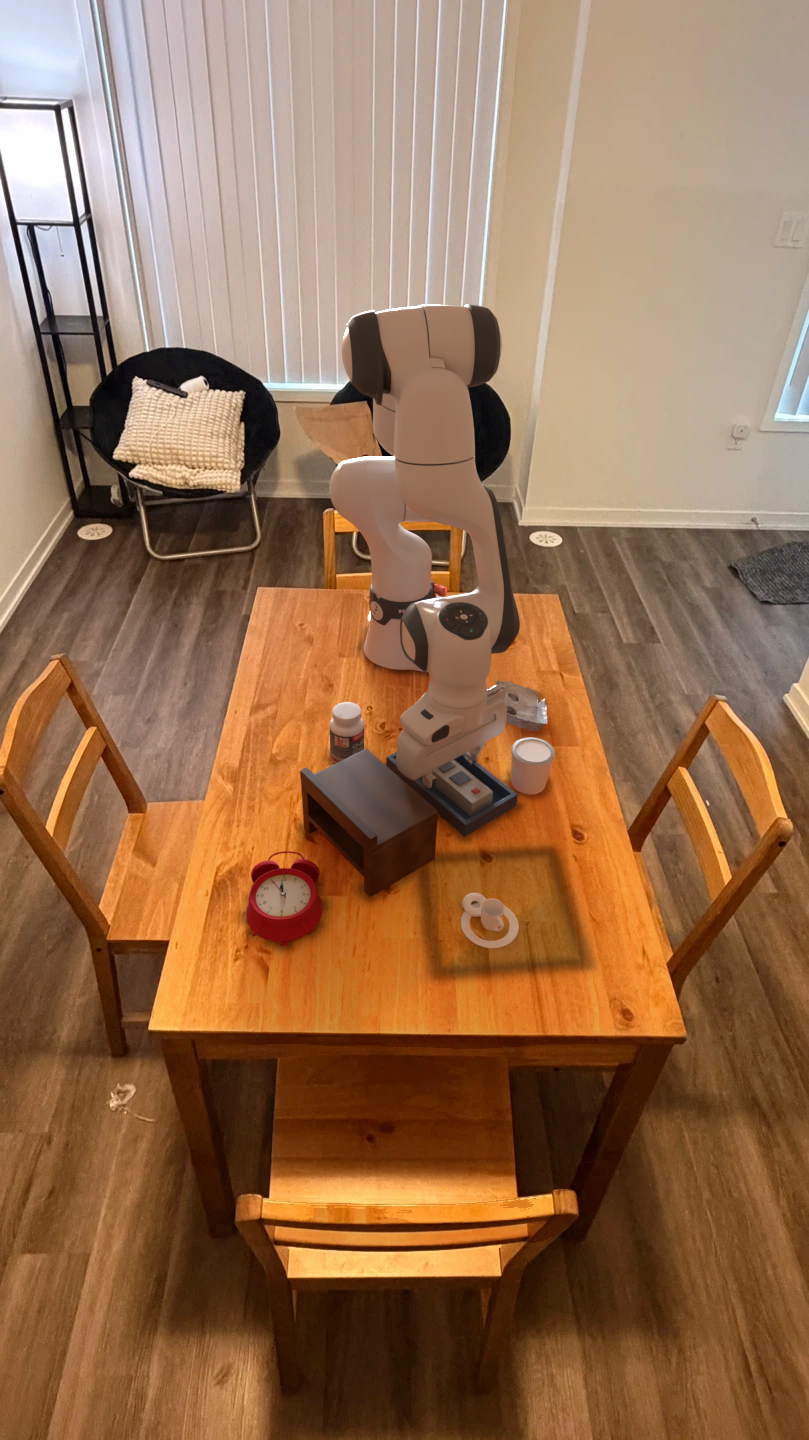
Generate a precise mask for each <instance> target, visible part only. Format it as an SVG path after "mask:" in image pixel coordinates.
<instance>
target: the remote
mask: <svg viewBox="0 0 809 1440" xmlns="http://www.w3.org/2000/svg"><path fill="white" fill-rule="evenodd" d="M432 775H434V776H435V777H437V781H436V785H434V786H435V787H436V788H438V789H439V790H440V791H441V792H442V793H443V794H445V795H446V796H447V797H448V798H449V799H450V800H452V801H453V802H454V803H455V804H456V805H457V806H459V807H460V808H461V809H462V810H463V811H464V812H466V813H467V814H468V815H469V816H470V817H472V816H473V815H475V814H477V813H479V812H480V811H482V810H484V809H486V808H487V807H489V806H491V804H492V796H493V791H492V790H491V789H489V788H488V787H487V786H486V785H484V784H483V783H482V782H481V781H479V780H478V779H477V778H476V777H475V776H473V775H472V774H471V773H470V772H468V771H467V770H466V769H465V768H463V767H462V766H461V765H460V764H458V763H457V762H456V761H455V760H454V759H453V760H452V761H450V762H448V763H446V764H444V765H442V766H440V767H438V768H437V769H435V770H433V771H432Z"/></svg>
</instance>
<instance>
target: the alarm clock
mask: <svg viewBox="0 0 809 1440" xmlns="http://www.w3.org/2000/svg"><path fill="white" fill-rule="evenodd" d="M281 854H295V855H298V856H300V857H301V858H299V859H296V860H295V861H293V863H292V864H291V866H290V867H280V865H279V864H278V863H277V861H275V860H271V859H272V858H273V857H274V856H277V855H281ZM250 878H251V881H252V885H251V887H250V890H249V893H248V903H247V905H246V909H245V914H246V915H245V916H246V921H247V925H248V926H249V929H251V930H252V932H253V933H252V936H253V937H256V936H258V937H260V938H262V939H264V940H267V941H270V942H275V943H279V947H285V946H286V947H287V946H288V942H293V941H297V940H299V939H301V938H304V937H305V936H307V935H310V934H311V932H312V931H313V930H315V928H316V927H317V926H318V924H319V923H320V921H321V919H322V916H323V901H322V898H321V896H320V894H319V893H318V888H317V885H316V884H315V883H317V882H318V881H319V878H320V869H319V867H318V865H317V864H316V863H315V862H314V861H311V860H309V859H306V858H305V856H303V855H302V853H300V852H297V851H292V850H284V851H278V852H274V853H273V854H271V855H270V856H269V857H268V859H266V860H263V861H260V862H258V863H256V864H255V865H254V866H253V868H252V870H251V872H250Z"/></svg>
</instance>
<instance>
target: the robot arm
mask: <svg viewBox="0 0 809 1440" xmlns="http://www.w3.org/2000/svg"><path fill="white" fill-rule="evenodd" d="M502 351H503V340H502V333H501V329H500V325H499V321H498V319H497V317H496V315H495V314H494V313H493V311H492V310H491V309H490V308H488V307H486V306H483V305H482V306H481V305H478V304H471V303H467V304H465V305H464V306H463V305H462V306H461V305H452V304H419V305H417V306H407V307H405V306H404V307H398V308H397V307H396V308H391V309H385V310H382V311H381V310H380V311H375V310H374V309H372V310H368V311H364V312H360V313H357V314H355V315H353V316H352V317H350V319H349V320H348V322H347V323H346V326H345V332H344V335H343V338H342V342H341V360H342V365H343V369H344V371H345V373H346V375H347V377H348V378H349V383H350V384H351V385H352V386H353V387H354V388H355V389H356V390H357V391H358V392H359V393H360V394H363V395H364V396H367V397H369V398H372V430H373V435H374V437H375V438H376V440H377V442H378V443H379V444H380V446H381V447H382V448H383V449H384V450H385V451H386V452H387V453H389V454H390V455H391V456H362V457H361V456H360V457H356V458H350V459H347V460H343V461H340V463H338V465H337V466H336V467H335V469H334V470H333V472H332V474H331V477H330V480H329V489H328V490H329V497H330V501H331V503H332V506H333V508H334V509H335V511H336V512H337V513H338V514H339V516H341V517H342V518H343V519H345V520H347V521H348V522H349V523H350V524H352V525H353V527H355V528H356V530H358V531H359V533H360V534H361V535H362V537H363V538H364V541H365V542H366V544H367V547H368V550H369V555H370V563H371V564H370V565H371V566H370V567H371V583H370V585H369V603H368V604H369V614H368V615H367V620H368V628H367V633H366V637H365V641H364V643H363V647H362V648H363V649H362V650H363V654H364V656H365V657H366V658H367V659H368V660H369V661H370V662H372V664H375V665H377V666H379V667H382V668H385V669H390V670H396V671H406V670H407V671H408V670H409V671H410V670H411V671H416V672H420V673H428V675H429V683H428V687H427V690H426V691H425V692H424V693H423V694H422V695H421V696H420V698H419V699H418V700H417V701H416V702H414V704H412V705H411V706H409V708H407V709H406V710H405V711H404V712H402V713H401V715H400V716H399V725H400V726H401V727H402V728H403V729H402V730H401V731H400V732H399V734H398V737H397V741H396V742H397V743H396V751H395V752H396V766H397V768H398V770H399V771H400V772H401V773H402V774H403V775H404V776H406V777H407V778H409V779H410V780H416V779H418V778H420V777H422V776H423V777H422V782H423V784H424V785H425V786H426V787H427V788H428V789H429V788H431V787H432V786H434V785H436V781H437V777H435V776H434V775H432V771H433V770H435V769H437V768H438V767H440V766H442V765H444V764H446V763H448V762H450V761H452V760H453V759H455V758H457V757H459V756H461V755H463V754H465V761H466V762H467V763H469V765H473V764H475V763H479V759H480V755H481V753H482V752H483V750H484V748H485V747H486V745H487V742H489V741H491V740H493V739H495V738H496V737H499V736H500V735H502V734H503V733H504V731H505V729H506V728H507V723H506V720H507V710H506V703H505V695H506V690H505V688H504V687H503V686H499V685H496V684H495V685H493V686H490V688H488V685H487V679H488V676H489V674H490V670H491V662H492V655H493V654H502V653H505V652H506V651H507V650H508V649H509V648H510V647H511V646H512V644H513V643H514V642H515V640H516V639H517V637H518V634H519V633H520V628H521V622H520V615H519V611H518V607H517V603H516V599H515V596H514V592H513V586H512V581H511V573H510V567H509V560H508V552H507V545H506V539H505V533H504V526H503V521H502V515H501V511H500V506H499V503H498V500H497V498H496V495H495V493H494V492H493V490H492V489H491V488H489V487H488V486H486V485H483V483H482V481H481V479H480V476H479V474H478V471H477V465H476V443H475V442H476V440H475V425H474V416H473V409H472V401H471V398H470V397H471V396H470V392H469V388H474V387H477V386H480V385H481V386H482V385H484V384H486V383H489V382H490V381H491V380H492V378H493V377H494V376H495V375H496V374H497V371H498V369H499V365H500V360H501V357H502ZM402 523H437V524H440V525H444V526H448V527H452V528H456V529H459V530H462V531H465V532H466V533H467V534H468V535H469V537H470V540H471V544H472V551H473V556H474V563H475V568H476V575H477V582H478V584H477V587H476V588H475V589H474V590H472V591H469V592H466V593H461V594H459V593H458V594H455V595H449V596H447V595H448V591H449V590H448V588H447V587H446V586H443V585H442V584H441V583H437V584H435V581H433V580H432V569H433V554H432V549H431V547H430V546H429V544H428V543H427V542H426V541H425V540H424V539H423V538H422V537H420V536H419V535H418V534H416V533H413V532H411V531H409V530H407V529H406V528H404V527H403V525H401V524H402Z"/></svg>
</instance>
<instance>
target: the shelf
mask: <svg viewBox="0 0 809 1440" xmlns="http://www.w3.org/2000/svg"><path fill="white" fill-rule="evenodd" d="M299 775H300V788H301V790H300V791H301V804H302V817H303V819H302V820H303V829H304V830H305V831H306V832H307V834H308V835H311V834H313V833H314V832H317V831H319V832H320V834H321V835H322V836H323V837H324V838H325V839H326V840H327V841H328V842H329V843H330V844H331V845H332V846H333V847H334V848H335V849H336V850H337V851H338V852H339V853H340V854H341V855H342V857H344V858H345V859H346V861H348V863H350V864H351V866H353V867H354V869H355V870H356V871H357V872H358V873H359V874H360V875H361V876H362V877H363V892H364V893H365V894H366V895H367V896H368V897H369V898H372V897H374V896H376V895H377V894H379V893H380V892H382V891H384V890H386V889H387V888H389V887H390V886H392V885H394V884H396V883H397V882H399V881H401V880H402V879H404V878H406V877H407V876H409V875H411V874H413V873H414V872H416V871H418V870H419V869H421V868H423V867H424V866H426V865H428V864H429V863H431V862H433V861H434V860H436V847H437V834H438V823H439V822H438V821H439V814H438V811H437V810H436V809H435V808H434V807H433V806H432V805H430V804H429V803H428V802H427V801H426V800H425V799H424V798H422V797H421V796H420V795H419V794H418V793H417V792H416V791H414V790H413V789H412V788H411V787H410V786H409V785H408V784H406V783H405V782H404V781H403V780H402V779H401V778H400V777H398V776H397V775H396V774H395V773H394V772H393V771H392V770H390V769H389V768H388V767H387V766H386V764H385V763H383V761H381V760H380V759H379V758H378V757H377V756H376V755H375V754H373V752H372V751H370V750H369V749H368V748H364V750H363V751H361V752H359V753H356V754H354V755H352V756H350V757H348V758H346V759H344V760H342V761H340V762H338V763H334V764H332V765H330V766H327V767H326V768H324V769H321V770H320V771H318V772H315V773H314V772H313V771H312V770H311V769H309V768H308V766H306V767H304V768H302V769H300V770H299Z"/></svg>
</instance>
